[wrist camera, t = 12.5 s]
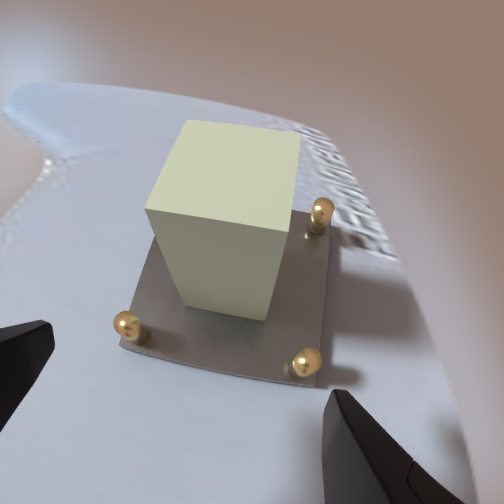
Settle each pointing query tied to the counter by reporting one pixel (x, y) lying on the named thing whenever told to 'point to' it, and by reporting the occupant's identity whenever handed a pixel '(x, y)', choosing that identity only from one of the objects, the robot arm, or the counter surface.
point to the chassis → (239, 328)
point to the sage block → (225, 214)
